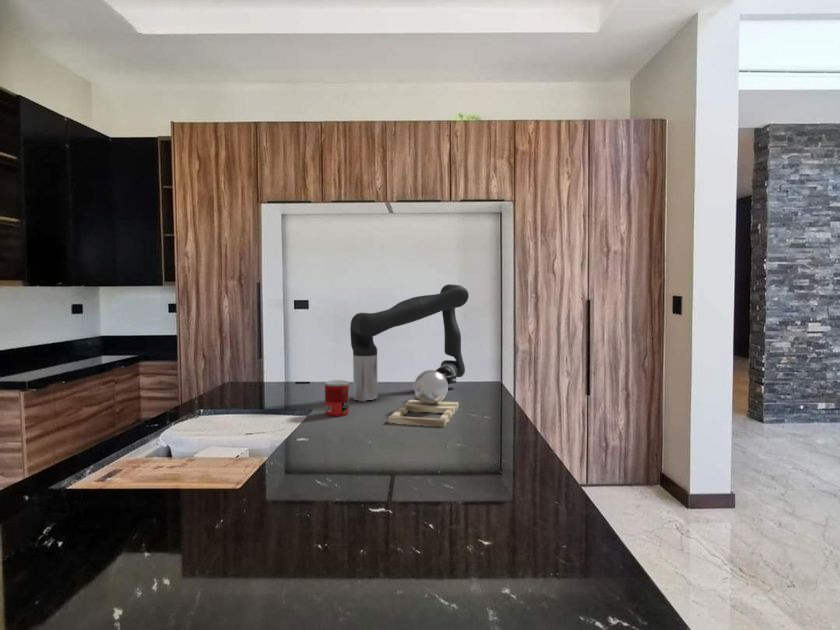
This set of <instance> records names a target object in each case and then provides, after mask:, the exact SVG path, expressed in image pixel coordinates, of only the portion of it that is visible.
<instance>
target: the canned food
mask: <svg viewBox="0 0 840 630" xmlns="http://www.w3.org/2000/svg"><path fill="white" fill-rule="evenodd" d="M349 384H350V383H349V381H347V380H344V379H343V380H339V379H337V380H336V379H335V380H328V381H325V383H324V397H325V398H324V402H325V403H324V407H325V415H326V416H327V417H331V416H332V418H333V417H334V418H337V417H344V416H347V415H349V412H350V403H349V401H350V397H349V396H350V394H349V393H350V392H349V391H350V388H349V387H350V386H349Z"/></svg>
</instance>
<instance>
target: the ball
mask: <svg viewBox="0 0 840 630" xmlns="http://www.w3.org/2000/svg"><path fill="white" fill-rule="evenodd" d="M413 390H414V394H415V396H416V398H417V400H420V401H422V402H423V403H426V404H437V403H439V402H441V401H443V400H444V399H445V398H446V396H447V394H448V390H449V385H448V383H447V380H446V378H445V377H444V376H443V375H442V374H441V373H440V372H438V371H436V369H427V370H424V371H422V372H420V373H419V374H418V375H417V376H416V379H415V380H414V384H413Z"/></svg>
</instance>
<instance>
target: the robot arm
mask: <svg viewBox="0 0 840 630" xmlns="http://www.w3.org/2000/svg"><path fill="white" fill-rule="evenodd" d="M469 297H470V296H469V291H468V289H467V288H466V287H464V286H463V285H459V284H445V285H444V286H443V287H442V288H441V289H440V293H437V294H436V293H435V294H427V295H420V296H418V295H417V296H414V297H411V298H407V299H405V300H402V301H400V302H398V303H396V304H395V305H393V306H392V307H390V308H389V309H385V310H381V311H378V312H377V311H376V312H372V313H371V312H370V313H369V312H358V313H356V314H355V315H354V316H353V317H352V318H351V320H350V331H349V332H350V346H351V349H352V368H353V369H352V370H353V371H352V372H353V373H352V375H353V382H352V383H353V385H352V386H353V388H352V389H353V400H354V401H356V400H358V401H357V402H367V401H366V400H373V399H376V398H377V397H378V387H379V385H378V347H377V346H376V344H375V342H374V337H375V336H378V335H380V334H381V333H384V332H385V331H388V330H390V329H393V328H395V327H399V326H404V325H407V324H411V323H413V322H417V321H420V320H423V319H425V318H427V317H430V316H433V315H435V314H437V313H440V312H442V320H443V321H442V322H443V331H444V350H443V351H444V354H445V355H446V356H449V357H453V358H454V359H455V360H453V359H452V360H450V359H446V360H442V361H441V363H440V366H439V367H438V368H436V369H435V371H438V372H440V373H441V374H442V375H443V376H444V377H445V378H446V380H447V383H448V386H449V385H451V384H456V383H457V378H462V377H463V376H464V375H465V371H466V367H465V363H464V360H463V359H464V358H463V355H462V335H461V330H460V327H459V324H458V321H457V316H456V308H460V307H463V306H464V305H465V304H466V303H467V302H468V299H469ZM376 400H377V399H376ZM373 401H374V400H373Z"/></svg>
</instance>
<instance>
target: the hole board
mask: <svg viewBox="0 0 840 630" xmlns="http://www.w3.org/2000/svg"><path fill="white" fill-rule="evenodd" d="M459 405H460V403H459V401H446V400H444V401H443V400H442V401H441V402H439V403H437V404H426V403H423V402H422V401H420V400H419V399H409V400H407V401H406V402H405V403H404V404H403V405H402V406H400V407H399V408H398V409H397V410H396V411H394V412H393V413H392V414H390V415H389V416H388V418H387V419H388V424H389V423H396V424H395V425H404V424H406V425H407V426H408V425H409V426H420V425H423V427H435V426H439V427H438V428H445V427H444V426H446V425H447V424H448V423H447V422H450V420H451V419H452V417H453V416H454V415H455V413H456V412H457V411H456V410H458V409H459V408H458V407H459ZM457 408H458V409H457ZM408 411H415V412H414V413H420V412H434V413H433V414H437V413H443V414H442V415H441V416H440V417H439V418H435V417H433V418H432V417H417V416H405V415H406V414H408V413H409V412H408ZM455 411H456V412H455ZM404 414H405V415H404ZM453 414H454V415H453ZM403 415H404V416H403ZM452 415H453V416H452ZM450 418H451V419H450Z"/></svg>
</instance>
